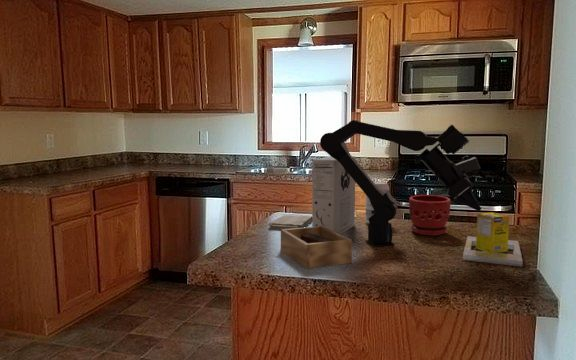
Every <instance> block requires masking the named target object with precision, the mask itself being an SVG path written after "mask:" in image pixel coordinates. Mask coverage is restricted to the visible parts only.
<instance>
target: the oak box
mask: <svg viewBox="0 0 576 360" xmlns="http://www.w3.org/2000/svg"><path fill="white" fill-rule="evenodd" d="M305 234H315V235H318V236H320V237H324V238H327V239H331V240H333V241H329V242H319V243H309V244H308V243H306V242H305V241H303V240H301V235H305ZM280 251H281V252H283V253H284V254H285V255H287V256H288V257H289V258H291V259H292V260H293V261H295V262H296V263H298V264H299V265H301V266H302V267H304V269H311V268H319V267H320V268H321V267H329V266H335V265H345V264H351V263H352V262H353V259H352V258H353V240H352V239H351V238H348V237H346V236H344V235H342V234H338V233H336V232H334V231H331V230H329V229H327V228H325V227H323V226H316V227H312V226H309V227H308V226H306V227H305V228H293V229H282V230H280Z"/></svg>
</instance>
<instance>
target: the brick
mask: <svg viewBox="0 0 576 360" xmlns="http://www.w3.org/2000/svg"><path fill="white" fill-rule="evenodd" d="M301 240H303V241H305V242H306V243H308V244H309V243H319V242H329V241H333V240H331V239H327V238H324V237H320V236H318V235H315V234H305V235H301Z"/></svg>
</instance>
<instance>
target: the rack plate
mask: <svg viewBox="0 0 576 360" xmlns="http://www.w3.org/2000/svg"><path fill="white" fill-rule="evenodd" d="M465 241H466V242H465V246H464V249H463V255H462V261H468V262H477V263H478V262H479V263H487V264H494V265H495V264H497V265H503V266H504V265H505V266H511V267H512V266H514V267H523V262H524V261H523V257H522V256H523V255H522V251H521V247H520V243H519V241H518V240H511V239H508V250H512V252H513V254H512V253H507V254H504V253H494V252H485V251H476V249H475V250H474V249H472V247H476V236H470V235H469V236H467V237H466V240H465Z"/></svg>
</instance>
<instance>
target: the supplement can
mask: <svg viewBox="0 0 576 360" xmlns="http://www.w3.org/2000/svg"><path fill="white" fill-rule="evenodd" d="M373 182H374V184H375V185H376V186H377V187H378V188H379V189H380V190H381V191H383V192H384V193H385V192H386V191H387V190H388V191H389V192H390V186H389V184H388V182H385V181H373ZM374 212H375V211H374V209H373V207H372V205H371V203H370V200H369V198H368V197H367V195H366V194H365V223H367V225H368V223H369V218H370V216H371V215H372V214H373V213H374Z"/></svg>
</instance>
